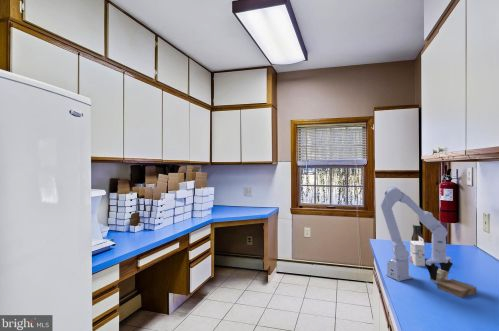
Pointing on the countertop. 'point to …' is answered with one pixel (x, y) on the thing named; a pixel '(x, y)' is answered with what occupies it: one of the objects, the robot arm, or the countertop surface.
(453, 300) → the countertop surface
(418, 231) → the sauce bottle
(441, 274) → the maple cube
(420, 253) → the ink cartridge box
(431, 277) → the robot arm
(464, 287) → the walnut block
